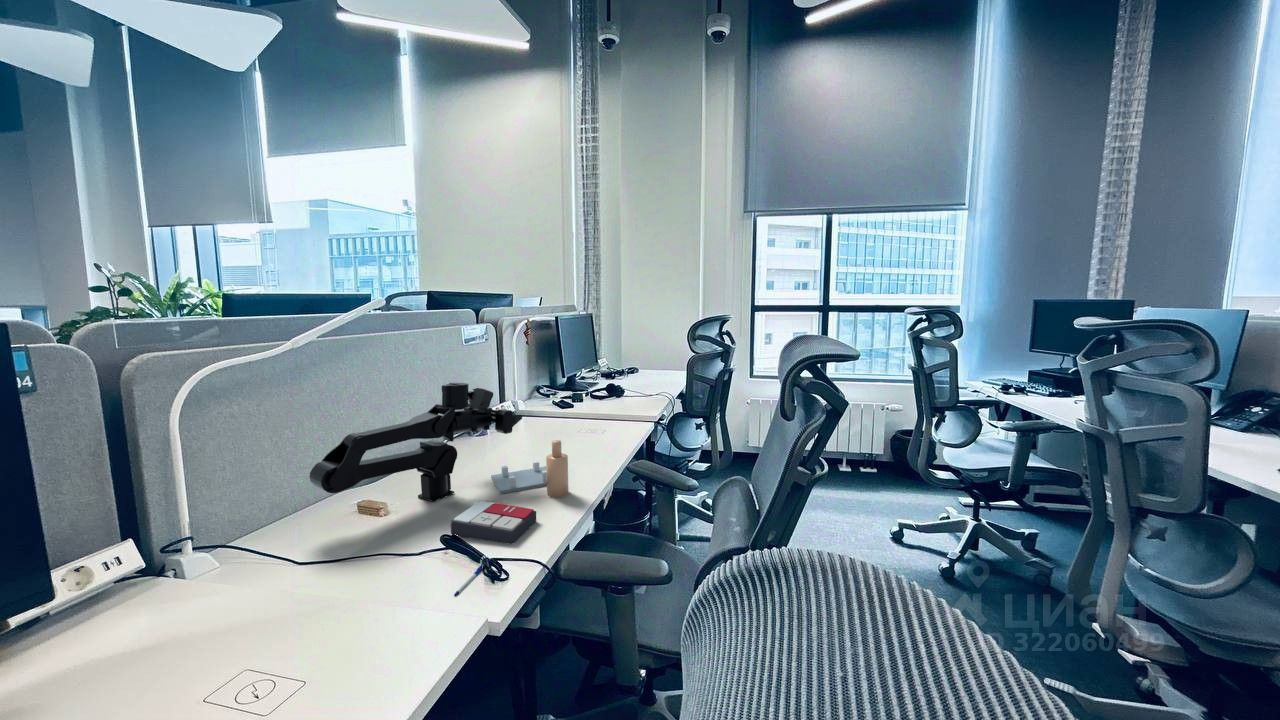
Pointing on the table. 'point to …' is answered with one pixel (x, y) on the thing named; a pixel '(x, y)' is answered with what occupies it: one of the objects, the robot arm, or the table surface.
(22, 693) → the table surface
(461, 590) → the ballpoint pen
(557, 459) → the tan bottle
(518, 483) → the plate
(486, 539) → the calculator
